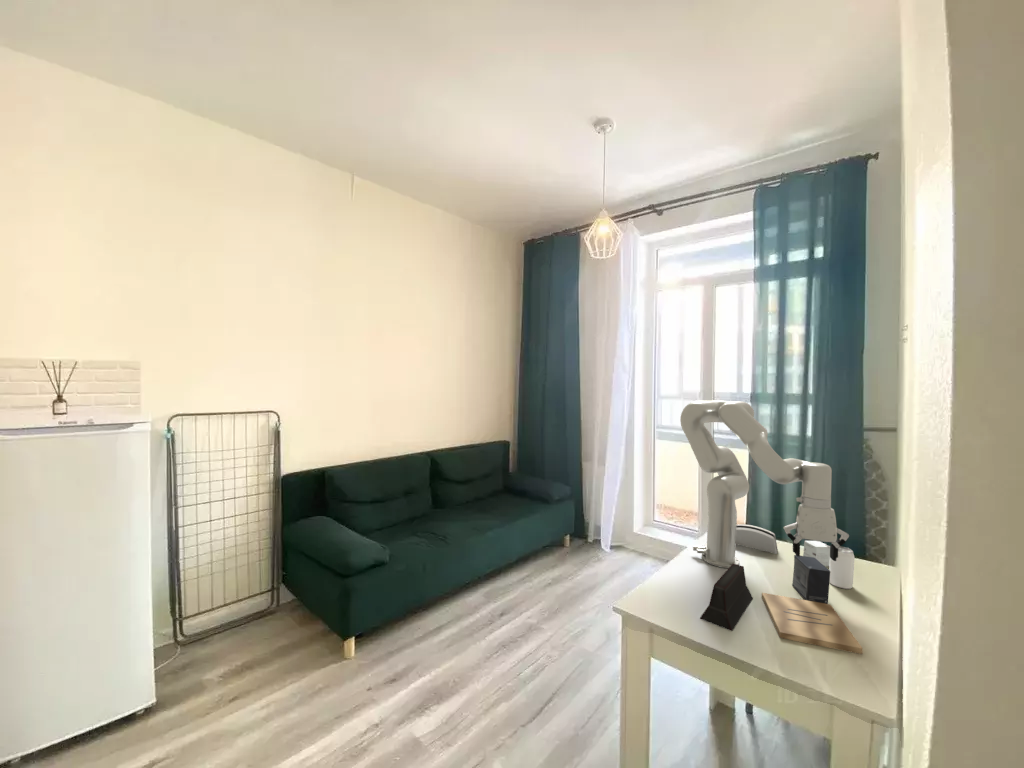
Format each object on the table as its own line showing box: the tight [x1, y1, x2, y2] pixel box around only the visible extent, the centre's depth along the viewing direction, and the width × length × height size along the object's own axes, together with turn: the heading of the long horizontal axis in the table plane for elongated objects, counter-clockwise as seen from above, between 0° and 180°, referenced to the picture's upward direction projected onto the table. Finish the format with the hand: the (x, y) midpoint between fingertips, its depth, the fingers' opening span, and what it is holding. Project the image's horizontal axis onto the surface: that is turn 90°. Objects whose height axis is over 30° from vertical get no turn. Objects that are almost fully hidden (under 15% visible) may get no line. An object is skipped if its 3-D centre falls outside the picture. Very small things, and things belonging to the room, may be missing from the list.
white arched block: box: [736, 523, 778, 555], centre depth 175 cm, size 17×5×10 cm, turn 53°
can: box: [828, 546, 855, 590], centre depth 146 cm, size 6×6×12 cm
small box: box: [791, 554, 830, 604], centre depth 138 cm, size 11×6×10 cm, turn 168°
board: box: [761, 592, 864, 655], centre depth 122 cm, size 18×22×2 cm
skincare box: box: [802, 540, 830, 567], centre depth 162 cm, size 6×6×7 cm
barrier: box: [699, 564, 754, 632], centre depth 129 cm, size 24×9×10 cm, turn 139°
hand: (814, 557), depth 137 cm, fingers open, 9 cm apart
